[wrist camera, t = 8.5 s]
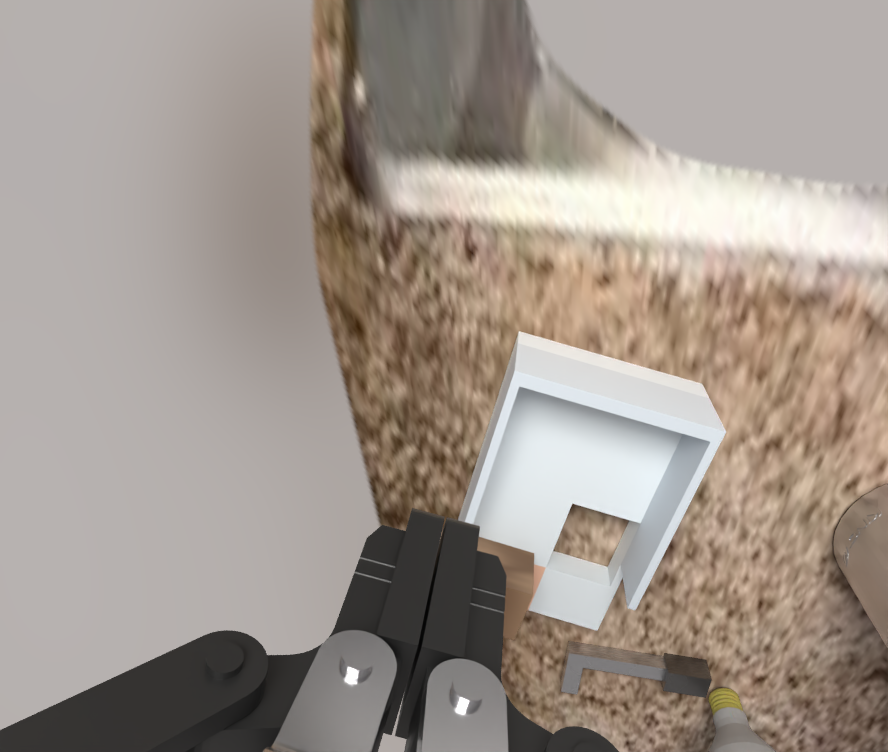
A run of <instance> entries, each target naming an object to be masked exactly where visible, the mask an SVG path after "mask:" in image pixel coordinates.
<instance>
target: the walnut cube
mask: <svg viewBox="0 0 888 752" xmlns="http://www.w3.org/2000/svg"><path fill="white" fill-rule="evenodd" d="M477 551H481V552H485V553H488V554H492V555H496V556H498V557H499V559H500V561H501V564H502V566H503V568H504V571H505V573H506V575H507V579H506V595H505V611H504V629H503V637H504V638H507V639H511V640H515V637H516V635H517V633H518V630H519V628H520V626H521V623H522V621H523V618H524V616H525V614H526V611H527V609H528V606H529V604H530V602H531V599H532V597H533V585H534V553H532V552H528V551H525V550H522V549H518V548H515V547H512V546H508V545H505V544H502V543H498V542H495V541H492V540H488V539H485V538H482V537H479V539H478V547H477Z"/></svg>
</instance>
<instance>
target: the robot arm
mask: <svg viewBox="0 0 888 752" xmlns="http://www.w3.org/2000/svg"><path fill="white" fill-rule="evenodd" d="M443 523H444V516H440V515H436V514H433V513H429V512H425V511H421V510H418V509H414V508H412V511H411V515H410V518H409V522H408V525H407V529H406V531H403V530H399V529H395V528H392V527H388V526H384V525H382V526H380V527H379V528H378V529H377V530H376V531H375V532H373V533H372V534H371V535H370V536H369V537H368V538H367V540H366V542H365V545H364V548H363V551H362V553H361V556H360V559H359V562H358V564H357V567H356V570H355V573H354V575H353V578H352V581H351V584H350V586H349V589H348V592H347V595H346V597H345V600H344V603H343V606H342V608H341V611H340V614H339V617H338V619H337V623H336V625H335V628H334V630H333V632H332V634H331V635H330V636H329V638H328V639H327V640H326V641H325V642H324V643H322V644H321V645H320V646H318V647H316V648H314V649H313V650H310V651H307V652H305V653H300V654H294V655H267V654H266V651H265V649H264V648H263V646H262V645H261V644H260V643H259V642H258V641H257V640H256V639H255V638H253V637H251V636H249V635H247V634H245V633H241V632H237V631H218V632H213V633H210V634H207V635H204V636H202V637H200V638H198V639H196V640H193V641H191V642H189V643H187V644H185V645H183V646H181V647H178V648H176V649H174V650H172V651H170V652H168V653H166V654H163V655H161V656H159V657H157V658H155V659H153V660H150V661H148V662H146V663H144V664H142V665H140V666H137V667H136V668H133V669H131V670H129V671H127V672H125V673H122V674H120V675H118V676H116V677H114V678H112V679H110V680H107V681H105V682H103V683H101V684H99V685H97V686H94V687H92V688H90V689H88V690H86V691H84V692H81V693H79V694H77V695H75V696H73V697H71V698H69V699H66V700H64V701H62V702H60V703H58V704H56V705H53V706H51V707H49V708H47V709H45V710H43V711H41V712H38V713H36V714H34V715H32V716H30V717H28V718H26V719H23V720H21V721H19V722H17V723H15V724H13V725H11V726H8V727H6V728H4V729H2V730H0V752H378V749H379V746H380V742H381V739H382V735H383V733H386V734H389V735H392V731H393V728H394V725H395V721H396V718H397V714H398V711H399V708H400V705H401V701H402V698H403V701H402V706H401V710H400V715H399V720H398V725H397V729H396V734H395V736H397V737H401V738H405V739H407V741H406V746H405V751H404V752H619V751H618V750H617V749H616V748H615V747H614V746H613V745H612V744H611V743H610V742H609V741H608V740H607V739H606V738H604V737H603V736H601V735H600V734H598V733H596V732H594V731H592V730H589V729H587V728H583V727H574V726H572V727H566V728H563V729H560V730H558V731H557V732H555V733H554V734H552V733H550V732H548V731H547V730H545V729H544V728H542V727H540V726H539V725H537V724H535V723H534V722H532V721H530V720H529V719H528V718H526V717H525V716H524V715H522V714H521V713H520V712H519V711H518V710H517V709H516V708H515V707H514V706H513V704H512V703H511V702H510V700H509V699H508V697H507V695H506V693H505V691H504V688H503V686H502V681H501V662H502V646H503V629H504V611H505V595H506V579H507V575H506V573H505V571H504V568H503V566H502V564H501V561H500V559H499V557H498V556H496V555H492V554H488V553H485V552H481V551H477V547H478V539H479V531H480V526H478V525H474V524H470V523H467V522H463V521H459V520H455V519H452V518H448V517H447V519H446V522H445V526H444V529H443V532H442V527H443ZM441 532H442V536H441ZM440 537H441V539H440ZM439 542H440V543H439ZM833 547H834V555H835V558H836V560H837V563H838V565H839V567H840V569H841V570H842V572H843V574H844V576H845V577H846V579H847V581H848V582H849V584H850V586H851V587H852V589H853V591H854V592H855V594H856V596H857V597H858V599H859V601H860V602H861V604H862V606H863V608H864V610H865V611H866V613H867V615H868V616H869V618H870V620H871V621H872V623H873V625H874V627H875V628H876V630H877V632H878V633H879V635H880V637H881V638H882V640H883V642H884V643H885V645H886V647H887V648H888V484H886V485H883V486H880V487H878V488H876V489H874V490H873V491H871V492H869V493H867V494H866V495H864V496H862V497H861V498H860V499H859V500H858V501H856V502H855V503H854V504H853V505H852V506H851V507H850V508H849V509H848V510H847V512H846V513H845V514H844V515H843V517H842V518H841V520H840V522H839V524H838V526H837V528H836V530H835V535H834V540H833ZM404 691H405V692H404ZM403 695H404V696H403Z"/></svg>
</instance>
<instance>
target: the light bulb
mask: <svg viewBox="0 0 888 752" xmlns="http://www.w3.org/2000/svg"><path fill="white" fill-rule="evenodd" d="M709 703H710V706H711V709H712V713H713V721H714V725H715V728H716V735H715V738H714V740H713V743H712V745H711V747H710V749H709V751H708V752H776V751H775V750H774V749H773V748H772V747H771V746H770V745H768V744H767V743H766V742H765V741H764V740H762V739H761V738H760V737H759V736H758V735H757V734H756V733H755V732H754V731H752V730H751V728H750V726H749V724H748V720H747V717H746V714H745V713H744V712H743V709H742V706H741V703H740V699H739V697H738V695H737V693H736V692H735V691H733V690H731V689H728V688H719V689H716V690H714V691H712V692H711V693H710V695H709Z"/></svg>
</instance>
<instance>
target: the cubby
mask: <svg viewBox="0 0 888 752" xmlns="http://www.w3.org/2000/svg"><path fill="white" fill-rule="evenodd" d="M725 433H726V431H725V429H724V427H723V425H722V423H721V421H720V419H719V417H718V415H717V413H716V411H715V409H714V407H713V405H712V403H711V401H710V399H709V397H708V395H707V393H706V391H705V389H704V387H703V385H702V384H701V383H697V382H694V381H690V380H687V379H683V378H680V377H676V376H673V375H669V374H666V373H662V372H659V371H655V370H652V369H648V368H645V367H642V366H638V365H635V364H631V363H628V362H624V361H621V360H617V359H614V358H610V357H607V356H603V355H600V354H596V353H593V352H589V351H586V350H582V349H579V348H576V347H572V346H569V345H565V344H562V343H558V342H555V341H551V340H548V339H544V338H541V337H537V336H534V335H530V334H527V333H523V332H520V331H519V333H518V336H517V339H516V342H515V345H514V348H513V351H512V354H511V357H510V361H509V364H508V367H507V370H506V373H505V376H504V379H503V382H502V385H501V388H500V391H499V395H498V398H497V401H496V404H495V407H494V410H493V413H492V416H491V419H490V422H489V425H488V429H487V432H486V435H485V438H484V441H483V444H482V447H481V450H480V453H479V456H478V459H477V462H476V466H475V469H474V472H473V475H472V478H471V481H470V484H469V487H468V490H467V493H466V496H465V500H464V503H463V506H462V509H461V512H460V515H459V518H458V520H459V521H463V522H467V523H470V524H474V525H478V526H480V531H479V537H482V538H485V539H488V540H492V541H495V542H498V543H502V544H505V545H508V546H512V547H515V548H518V549H522V550H525V551H528V552H532V553H534V585H533V597H532V599H531V602H530V604H529V606H528V609H527V610H529V611H533V612H536V613H539V614H543V615H546V616H549V617H553V618H556V619H559V620H563V621H566V622H570V623H573V624H576V625H580V626H583V627H586V628H590V629H593V630H596V631H597V630H598V628H599V626H600V624H601V622H602V620H603V618H604V616H605V613H606V611H607V609H608V607H609V605H610V603H611V601H612V599H613V597H614V595H615V593H616V591H617V589H618V587H619V584H620V582H621V580H622V578H623V582H624V589H625V596H626V602H627V608H629V609H632V610H636V608H637V606H638V604H639V602H640V600H641V598H642V596H643V594H644V592H645V590H646V589H647V587H648V585H649V583H650V581H651V579H652V577H653V575H654V573H655V571H656V569H657V567H658V565H659V563H660V561H661V559H662V557H663V555H664V553H665V551H666V549H667V547H668V545H669V543H670V541H671V539H672V537H673V535H674V533H675V531H676V530H677V528H678V526H679V524H680V522H681V520H682V518H683V516H684V514H685V512H686V510H687V508H688V506H689V504H690V502H691V500H692V498H693V496H694V494H695V492H696V490H697V488H698V486H699V484H700V482H701V480H702V478H703V476H704V474H705V472H706V470H707V469H708V467H709V465H710V463H711V461H712V459H713V457H714V455H715V453H716V451H717V449H718V447H719V445H720V443H721V441H722V439H723V437H724V435H725ZM572 504H576V505H579V506H583V507H586V508H589V509H593V510H596V511H600V512H603V513H606V514H610V515H613V516H617V517H620V518H623V519H627V520H629V523H628V525H627V527H626V529H625V531H624V533H623V535H622V538H621V540H620V542H619V544H618V546H617V548H616V550H615V553H614V555H613V557H612V559H611V561H610V563H609V565H608V567H606V566H603V565H599V564H596V563H593V562H589V561H586V560H583V559H579V558H576V557H572V556H569V555H566V554H562V553H559V552H555V551H553V549H554V547H555V544H556V542H557V540H558V537H559V535H560V532H561V530H562V528H563V525H564V523H565V520H566V518H567V515H568V513H569V511H570V508H571V506H572Z"/></svg>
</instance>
